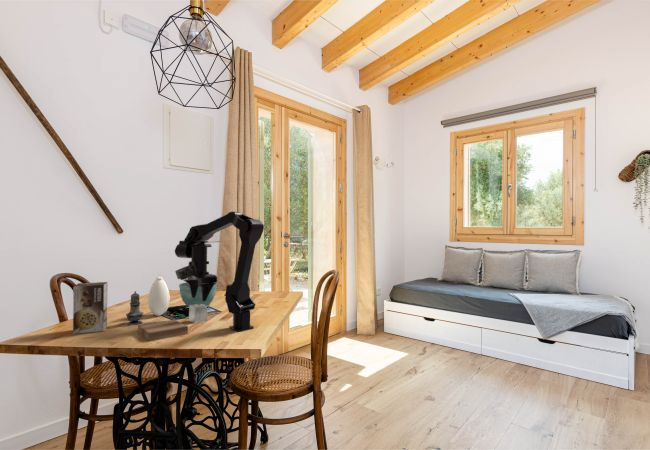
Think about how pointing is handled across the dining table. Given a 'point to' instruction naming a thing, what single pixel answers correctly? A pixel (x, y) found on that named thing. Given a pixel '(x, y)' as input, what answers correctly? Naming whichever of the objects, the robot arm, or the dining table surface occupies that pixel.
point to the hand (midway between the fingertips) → (198, 299)
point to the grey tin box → (198, 313)
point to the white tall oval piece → (158, 297)
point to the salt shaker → (134, 311)
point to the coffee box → (89, 307)
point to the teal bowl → (188, 298)
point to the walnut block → (162, 330)
